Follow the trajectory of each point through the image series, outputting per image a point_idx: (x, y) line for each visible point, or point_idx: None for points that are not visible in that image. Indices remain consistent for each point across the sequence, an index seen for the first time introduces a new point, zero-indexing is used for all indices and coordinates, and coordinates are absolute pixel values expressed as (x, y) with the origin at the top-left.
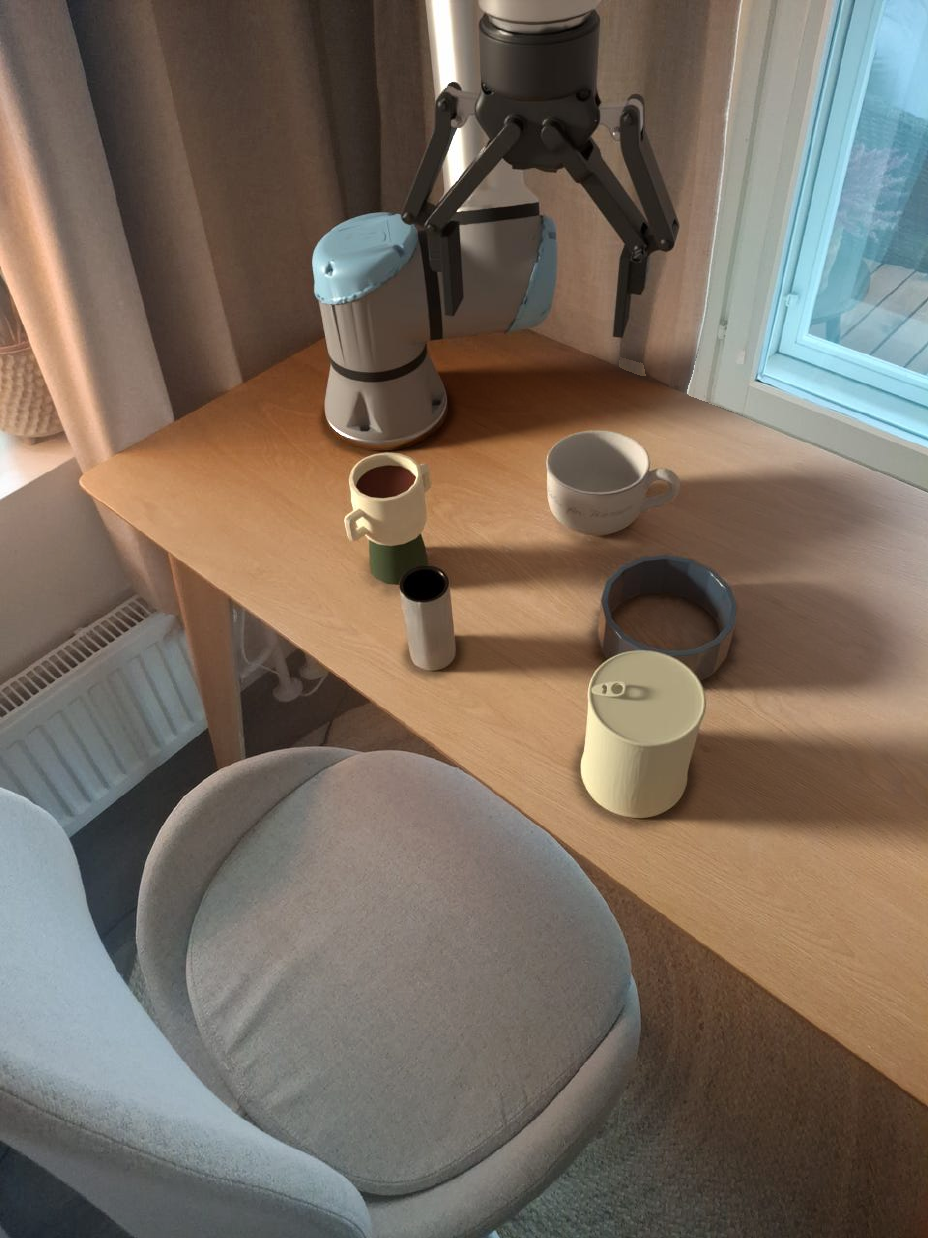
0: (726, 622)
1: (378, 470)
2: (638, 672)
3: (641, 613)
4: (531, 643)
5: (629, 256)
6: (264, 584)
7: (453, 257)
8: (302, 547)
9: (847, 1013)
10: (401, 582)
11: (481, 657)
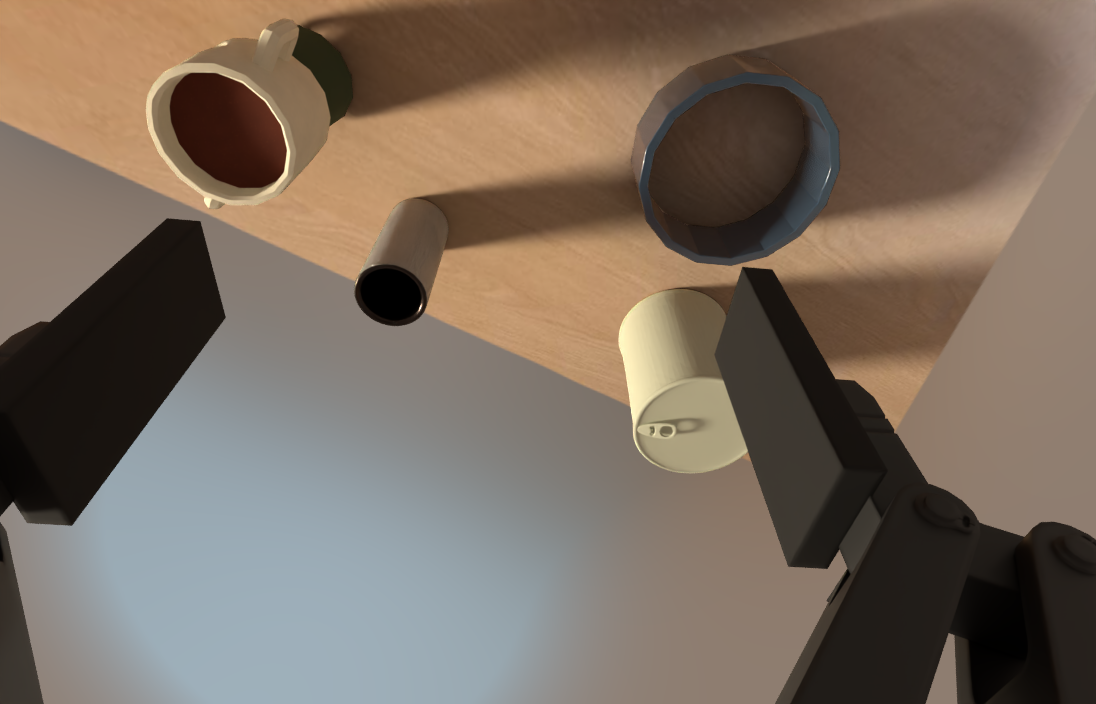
0: (816, 155)
1: (192, 87)
2: (691, 403)
3: (693, 113)
4: (542, 191)
5: (828, 555)
6: (125, 144)
7: (117, 416)
8: (125, 52)
9: None
10: (358, 299)
11: (482, 222)
